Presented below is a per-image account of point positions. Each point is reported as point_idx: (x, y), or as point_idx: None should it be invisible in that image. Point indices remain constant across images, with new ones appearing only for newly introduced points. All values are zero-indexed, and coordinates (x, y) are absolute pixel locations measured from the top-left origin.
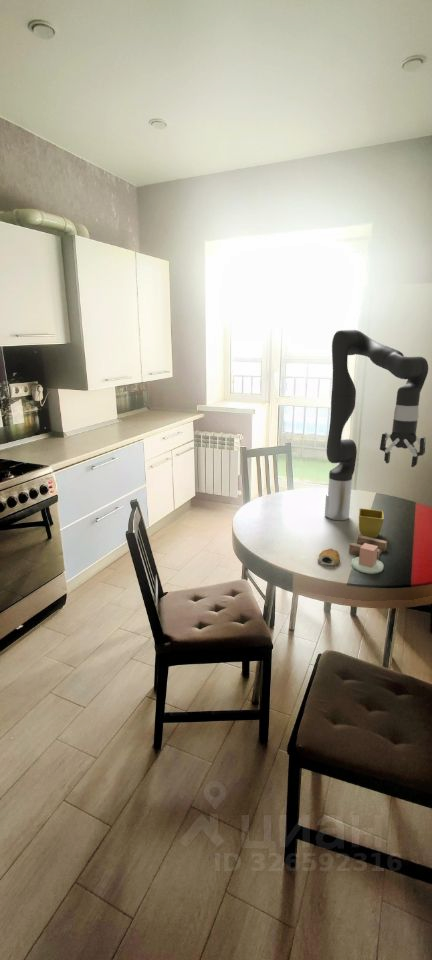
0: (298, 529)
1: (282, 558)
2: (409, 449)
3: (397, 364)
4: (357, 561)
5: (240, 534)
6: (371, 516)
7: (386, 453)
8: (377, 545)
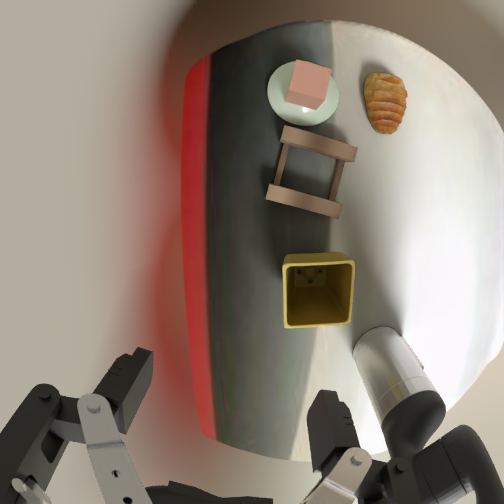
0: (453, 245)
1: (456, 95)
2: (126, 457)
3: None
4: (326, 95)
5: None
6: (313, 313)
7: (349, 448)
8: (288, 188)
